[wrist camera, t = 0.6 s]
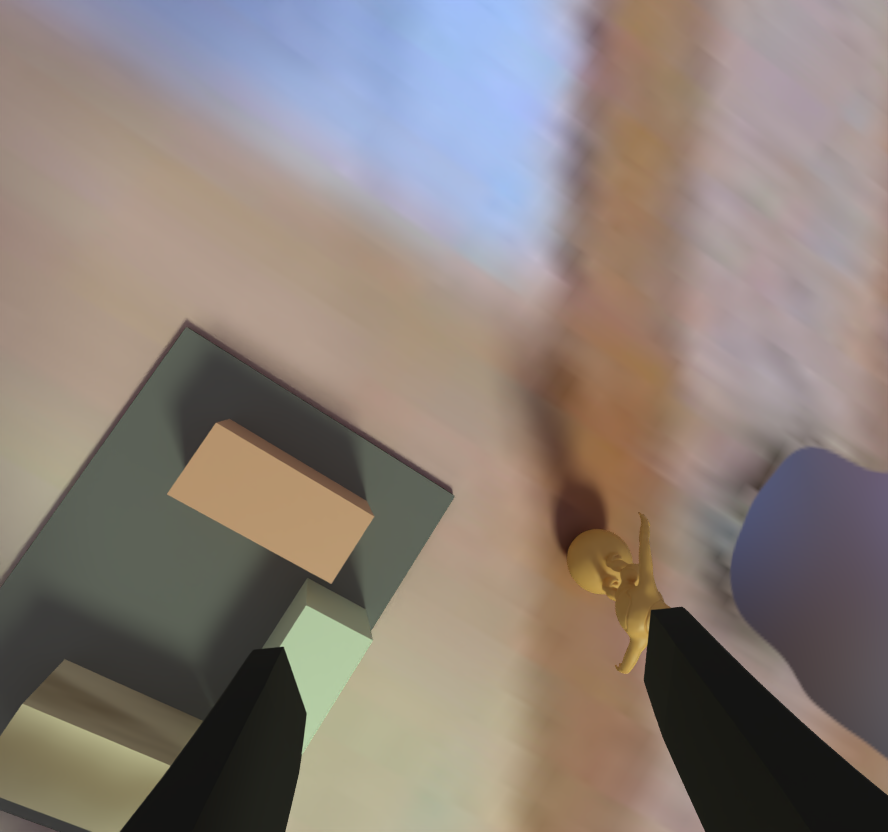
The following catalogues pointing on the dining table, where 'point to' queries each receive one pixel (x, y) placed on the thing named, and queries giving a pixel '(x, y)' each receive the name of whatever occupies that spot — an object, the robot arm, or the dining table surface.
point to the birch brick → (89, 749)
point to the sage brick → (321, 647)
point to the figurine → (619, 582)
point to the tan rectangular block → (273, 499)
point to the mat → (190, 546)
